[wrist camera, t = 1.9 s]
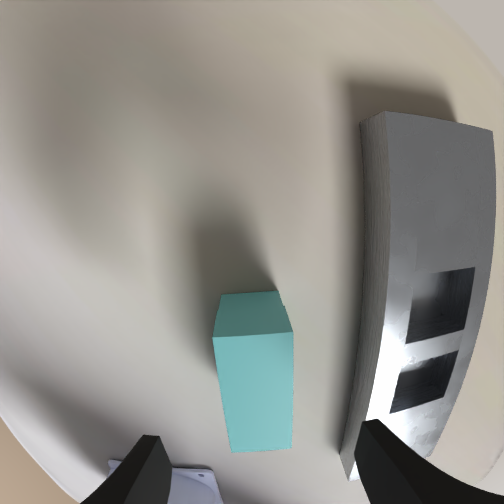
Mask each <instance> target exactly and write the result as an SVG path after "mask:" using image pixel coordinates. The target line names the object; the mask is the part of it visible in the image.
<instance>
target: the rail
mask: <svg viewBox="0 0 504 504" xmlns="http://www.w3.org/2000/svg"><path fill="white" fill-rule="evenodd" d="M360 131H361V143H362V157H363V174H364V204H365V246H364V277H363V295H362V309H361V321H360V332H359V342H358V350H357V359H356V367H355V374H354V381H353V387H352V394H351V400H350V406H349V411H348V417H347V422H346V427H345V432H344V437H343V442H342V446H341V451H340V458H341V461H342V464H343V467H344V470H345V473H346V476H347V479H348V482H349V481H353V480H357V479H360V476H359V473H358V469H357V466H356V462H355V458H354V451H355V447H356V443H357V439H358V436H359V432H360V428H361V424H362V421H367V420H371V419H375V418H378V419H379V420H380V421H382V422H383V423H384V424H385V425H386V426H387V427H388V428H389V429H390V430H391V431H392V432H393V433H394V434H395V435H396V436H398V437H399V438H400V439H401V440H402V441H403V442H404V443H405V444H407V445H408V446H409V447H410V448H411V449H413V450H414V451H415V452H416V453H418V454H419V455H420V456H421V457H423V458H426V457H429V456H430V455H431V453H432V451H433V449H434V448H435V446H436V444H437V442H438V440H439V438H440V436H441V433H442V431H443V429H444V427H445V425H446V423H447V421H448V418H449V416H450V414H451V411H452V409H453V407H454V404H455V402H456V399H457V397H458V394H459V392H460V389H461V386H462V383H463V381H464V378H465V375H466V372H467V369H468V366H469V363H470V360H471V357H472V353H473V350H474V346H475V343H476V339H477V335H478V332H479V328H480V323H481V319H482V315H483V310H484V306H485V301H486V295H487V290H488V284H489V278H490V271H491V263H492V255H493V245H494V234H495V216H496V170H495V153H494V141H493V132H492V131H490V130H487V129H483V128H479V127H475V126H471V125H466V124H462V123H457V122H453V121H448V120H443V119H437V118H432V117H426V116H420V115H413V114H406V113H399V112H390V111H383V112H381V113H379V114H377V115H374V116H372V117H370V118H368V119H366V120H364V121H362V122H360Z"/></svg>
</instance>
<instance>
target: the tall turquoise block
mask: <svg viewBox="0 0 504 504" xmlns="http://www.w3.org/2000/svg"><path fill="white" fill-rule="evenodd" d="M212 338H213V346H214V353H215V359H216V366H217V373H218V379H219V385H220V391H221V398H222V403H223V409H224V415H225V421H226V426H227V432H228V437H229V442H230V448H231V452H254V451H268V450H279V449H288V448H292V418H293V330H292V327H291V324H290V321H289V318H288V315H287V312H286V309H285V306H283V304H282V301H281V298H280V294H279V291H265V292H251V293H237V294H221V299H220V304H219V310H217V315H216V320H215V326H214V331H213V337H212Z"/></svg>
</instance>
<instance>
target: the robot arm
mask: <svg viewBox="0 0 504 504" xmlns="http://www.w3.org/2000/svg"><path fill="white" fill-rule="evenodd" d="M354 458H355V462H356V466H357V469H358V473H359V476H360V479H361V482H362V484H363V486H364V489H365V491H366V494H367V496H368V499H369V501H370V503H371V504H504V496H502V495H497V494H494V493H490V492H487V491H484V490H481V489H478V488H476V487H473V486H471V485H468V484H466V483H464V482H462V481H459V480H457V479H455V478H454V477H452V476H450V475H448V474H446V473H445V472H443V471H441V470H440V469H438V468H437V467H435V466H434V465H432V464H431V463H429V462H428V461H427V460H425V459H424V458H423V457H421V456H420V455H419V454H418V453H416V452H415V451H414V450H413V449H411V448H410V447H409V446H408V445H407V444H405V443H404V442H403V441H402V440H401V439H400V438H399V437H398V436H396V435H395V434H394V433H393V432H392V431H391V430H390V429H389V428H388V427H387V426H386V425H385V424H384V423H383V422H382V421H380V420H379V419H378V418H375V419H371V420H367V421H362V424H361V428H360V432H359V436H358V439H357V443H356V447H355V451H354ZM108 465H109V467H110V468H111V469H110V471H109V474H108V476H107V479H106V480H105V481H104V482H103V483H102V484H101V485H100V486H99V487H98V488H97V489H96V490H95V491H94V492H93V493H92V494H91V495H90V496H89V497H87V498H86V499H85V500H84V501H83V502H81V503H80V504H224V503H223V500H222V497H221V494H220V491H219V488H218V485H217V482H216V479H215V476H214V472H213V471H211V470H208V469H185V468H172V465H171V463H170V460H169V458H168V456H167V453H166V451H165V449H164V446H163V444H162V441H161V439H160V437H159V436H152V435H143V436H142V437H141V438H140V439H139V441H138V442H137V443H136V445H135V446H134V447H133V449H132V450H131V451H130V452H129V454H128V455H127V456H126V457H125V459H124V460H123V461H116V460H109V461H108Z"/></svg>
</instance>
